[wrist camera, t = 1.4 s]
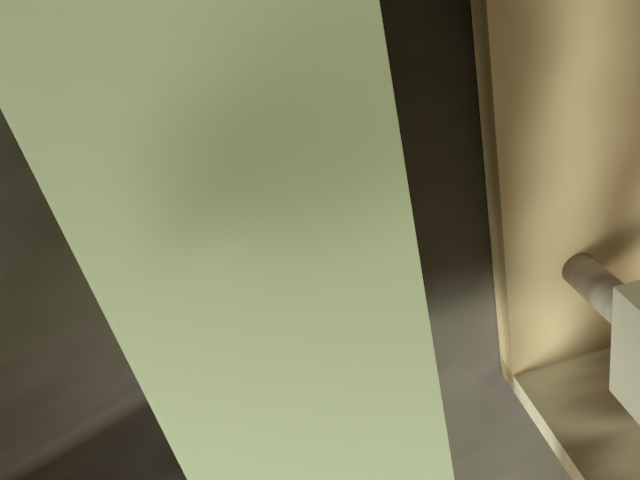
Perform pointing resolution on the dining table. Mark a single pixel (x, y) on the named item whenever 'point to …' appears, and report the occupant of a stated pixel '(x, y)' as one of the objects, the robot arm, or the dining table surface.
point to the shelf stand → (563, 211)
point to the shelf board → (239, 224)
